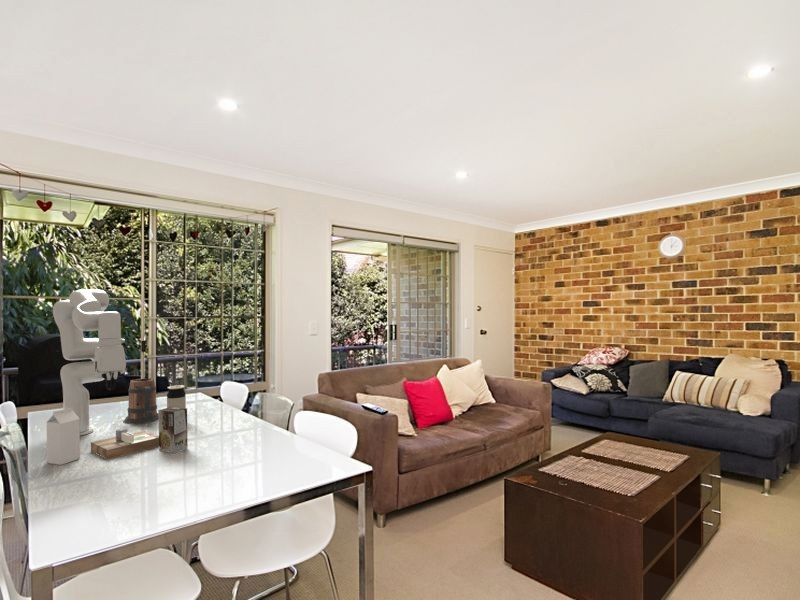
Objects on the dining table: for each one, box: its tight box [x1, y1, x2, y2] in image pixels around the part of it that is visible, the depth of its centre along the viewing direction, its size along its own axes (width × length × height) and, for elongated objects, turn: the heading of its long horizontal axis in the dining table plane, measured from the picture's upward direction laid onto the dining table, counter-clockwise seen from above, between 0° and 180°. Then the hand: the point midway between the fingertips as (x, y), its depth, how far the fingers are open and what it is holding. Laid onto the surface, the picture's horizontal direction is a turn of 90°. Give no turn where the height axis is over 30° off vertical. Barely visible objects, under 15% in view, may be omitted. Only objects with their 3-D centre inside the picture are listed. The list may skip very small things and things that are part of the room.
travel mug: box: [166, 384, 187, 408], centre depth 220 cm, size 8×8×18 cm
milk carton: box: [46, 408, 81, 466], centre depth 169 cm, size 7×7×19 cm
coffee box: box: [157, 407, 189, 454], centre depth 181 cm, size 9×6×16 cm
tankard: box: [122, 377, 159, 425], centre depth 227 cm, size 24×17×20 cm
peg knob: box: [115, 428, 134, 443], centre depth 180 cm, size 10×4×4 cm, turn 53°
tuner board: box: [90, 430, 159, 460], centre depth 184 cm, size 16×20×4 cm
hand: (111, 389), depth 181 cm, fingers closed
